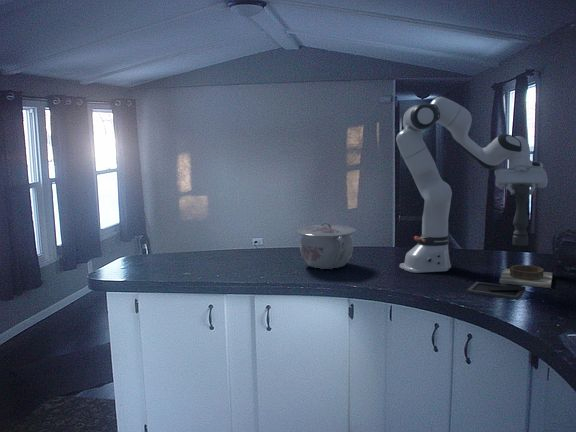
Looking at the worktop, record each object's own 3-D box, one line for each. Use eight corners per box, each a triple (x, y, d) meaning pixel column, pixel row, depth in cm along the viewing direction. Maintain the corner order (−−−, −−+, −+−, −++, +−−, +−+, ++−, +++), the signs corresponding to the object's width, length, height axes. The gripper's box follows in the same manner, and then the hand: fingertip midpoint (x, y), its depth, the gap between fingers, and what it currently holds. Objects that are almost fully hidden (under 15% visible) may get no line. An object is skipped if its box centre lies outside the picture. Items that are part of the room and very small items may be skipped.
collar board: (550, 288, 201) (551, 276, 200) (499, 283, 209) (499, 271, 209) (552, 276, 217) (552, 265, 216) (504, 272, 225) (505, 261, 224)
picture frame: (525, 291, 199) (476, 285, 209) (525, 286, 199) (476, 280, 209) (517, 301, 188) (466, 294, 198) (518, 296, 188) (466, 289, 198)
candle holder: (529, 245, 222) (531, 185, 218) (513, 245, 223) (515, 186, 219) (526, 242, 228) (527, 184, 224) (510, 242, 229) (512, 184, 225)
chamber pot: (307, 257, 261) (306, 216, 258) (362, 260, 252) (362, 217, 249) (288, 272, 235) (287, 225, 232) (349, 275, 226) (348, 227, 223)
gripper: (494, 163, 230) (495, 188, 222) (546, 163, 224) (549, 189, 216) (493, 173, 235) (494, 198, 227) (544, 173, 229) (547, 198, 221)
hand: (521, 193), depth 222 cm, fingers closed on candle holder, 5 cm apart
